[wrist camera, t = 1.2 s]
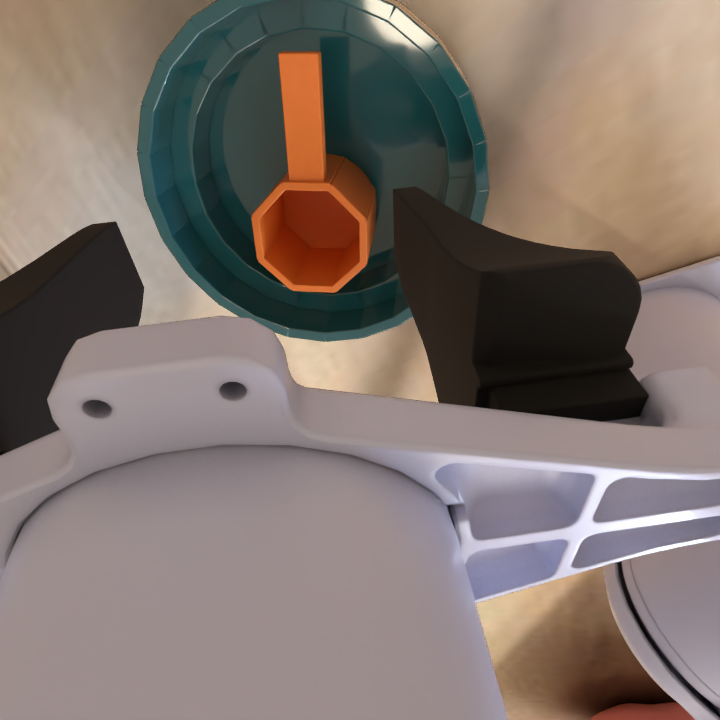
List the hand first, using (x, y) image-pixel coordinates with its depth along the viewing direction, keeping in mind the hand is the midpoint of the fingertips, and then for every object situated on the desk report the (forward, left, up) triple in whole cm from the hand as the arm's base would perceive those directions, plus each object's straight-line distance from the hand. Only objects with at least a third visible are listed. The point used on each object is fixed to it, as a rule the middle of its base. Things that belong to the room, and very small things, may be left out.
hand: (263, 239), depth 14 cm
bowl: (-1, 0, -10) cm, 10 cm away
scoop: (0, 0, -10) cm, 10 cm away
